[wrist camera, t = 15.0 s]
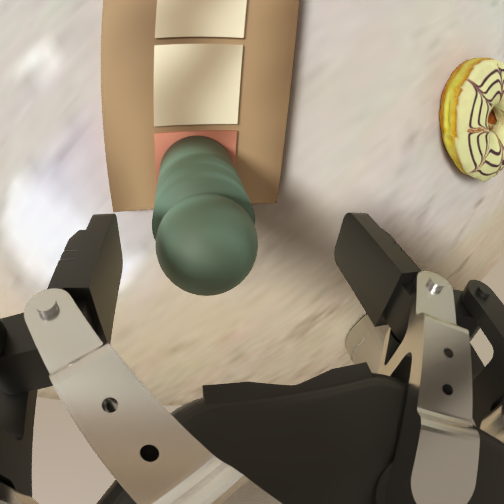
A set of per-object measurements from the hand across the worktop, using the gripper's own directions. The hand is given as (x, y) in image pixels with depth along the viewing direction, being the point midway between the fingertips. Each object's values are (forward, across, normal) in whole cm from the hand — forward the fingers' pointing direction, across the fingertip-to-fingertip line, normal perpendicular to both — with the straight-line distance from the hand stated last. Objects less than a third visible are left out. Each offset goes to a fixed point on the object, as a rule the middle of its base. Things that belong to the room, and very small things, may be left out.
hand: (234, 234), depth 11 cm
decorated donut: (+10, -21, -6) cm, 24 cm away
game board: (+9, +1, -10) cm, 13 cm away
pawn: (+8, +1, +1) cm, 8 cm away
